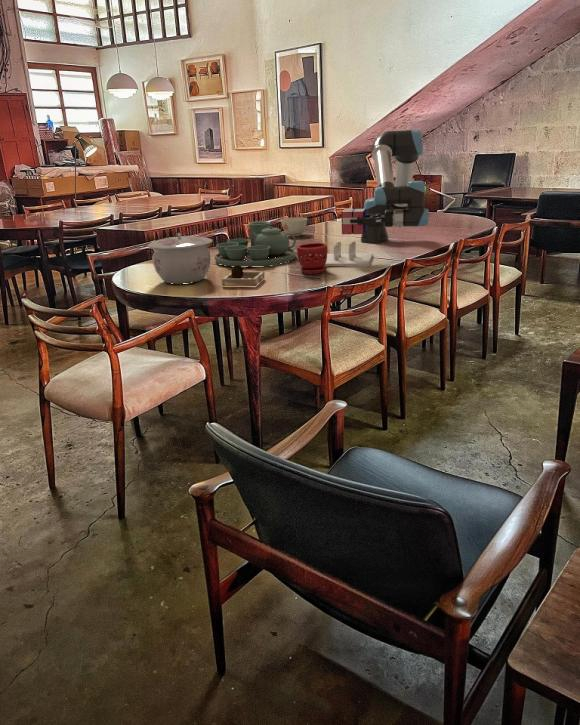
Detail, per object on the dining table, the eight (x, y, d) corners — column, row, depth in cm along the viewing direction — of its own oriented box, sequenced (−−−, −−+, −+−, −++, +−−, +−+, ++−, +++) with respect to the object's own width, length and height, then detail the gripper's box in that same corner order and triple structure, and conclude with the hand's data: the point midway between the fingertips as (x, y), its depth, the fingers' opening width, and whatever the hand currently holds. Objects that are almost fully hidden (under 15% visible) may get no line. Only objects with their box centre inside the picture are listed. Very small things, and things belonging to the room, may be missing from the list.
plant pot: (322, 267, 263) (322, 241, 259) (331, 273, 251) (330, 245, 247) (294, 270, 260) (293, 243, 256) (302, 276, 248) (301, 248, 244)
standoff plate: (324, 256, 288) (323, 239, 285) (372, 256, 282) (372, 238, 279) (315, 266, 266) (314, 248, 263) (367, 266, 261) (367, 247, 258)
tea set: (206, 258, 299) (203, 226, 293) (279, 250, 312) (277, 218, 306) (228, 272, 264) (225, 236, 258) (309, 262, 278) (307, 227, 272)
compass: (244, 285, 239) (243, 268, 236) (231, 283, 244) (229, 266, 241) (258, 281, 244) (257, 264, 242) (244, 279, 249) (243, 262, 247)
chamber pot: (180, 292, 233) (173, 240, 226) (139, 284, 250) (132, 235, 243) (230, 278, 253) (226, 229, 245) (189, 271, 270) (184, 226, 262)
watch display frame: (233, 279, 249) (232, 271, 248) (264, 279, 246) (264, 271, 245) (222, 287, 237) (221, 279, 235) (255, 287, 234) (254, 279, 232)
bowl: (278, 235, 357) (277, 218, 354) (303, 233, 361) (302, 216, 358) (286, 239, 343) (285, 221, 339) (311, 236, 347) (311, 219, 344)
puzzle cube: (363, 234, 262) (363, 211, 258) (341, 234, 264) (341, 212, 260) (365, 230, 271) (365, 208, 267) (344, 231, 273) (343, 209, 269)
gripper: (392, 230, 253) (341, 231, 257) (394, 223, 273) (347, 224, 278) (392, 213, 250) (341, 214, 254) (394, 206, 270) (347, 207, 275)
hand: (344, 219), depth 266 cm, fingers closed on puzzle cube, 10 cm apart
